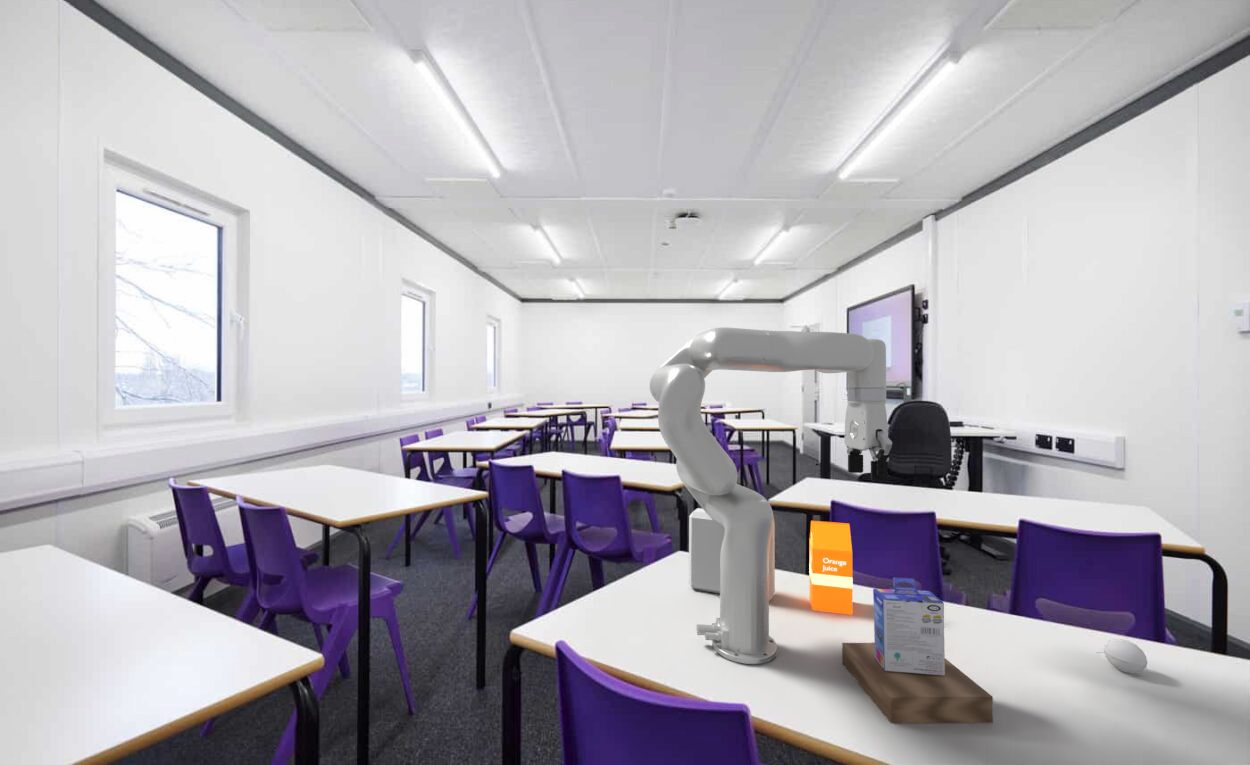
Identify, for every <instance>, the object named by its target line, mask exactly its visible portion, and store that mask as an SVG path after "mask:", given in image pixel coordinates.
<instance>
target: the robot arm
mask: <svg viewBox="0 0 1250 765" xmlns="http://www.w3.org/2000/svg"><path fill="white" fill-rule="evenodd" d="M717 370H722V371H723V370H724V371H725V370H726V371H745V372H746V371H747V372H765V373H790V372H798V371H817V372H819V373H822V374H840V373H846V383H847V384H846V386H847V388H846V390H847V393H846V396H847V398H846V400H847V403H846V404H847V406H846V411H845V421H844V444H845V446H846V449H847V450H846V454H847V471H848V473H850V474H854V473H855V474H857V473H858V474H862V473H864V455H863V454H862V453H863V451H865V452H866V451H868V452H869V453H870V456H871V458H872V460H870V480H871V481H873V482H886V481H888V476H889V474H888V473H889V472H888V471H889V469H888V466H889V465H888V464H889V463H888V462H889V460H890V458H889V457H890V456H891V453H892V452H891V450H892V446H893V441H892V440H891V439H890V438H889V426H888V416H887V415H888V414H887V408H886V404H887V346H886V342H885V341H883V340H882V339H877V338H866V337H865V336H863V335H861V334H857V333H851V332H850V333H848V332H831V331H798V330H797V331H795V330H768V329H767V330H766V329H753V328H752V329H751V328H738V327H716V328H712V329H709V330H706V331H703V332H700V333H698V334H697V335H695V336H693V338H691V339H690V340H689V341H688V342H687V343H685V345H684V346H682V347H681V348H680V349H679V350H678V351H677V352H676V353H674V354H673V355H672V356H671V357H670V358H669V359H667V360H666V361H665V362H663V364H662V365H660V366H659V367H658V368H657V369H656V370H655V371H654V373H653V374H652V376H651V378H650V381H649V391H650V394H651V396H652V397H653V399H654V400H655V401H656V402H657V403H658V410H657V411H658V412H657V413H658V414H657V417H658V418H657V420H658V428H659V431H660V435H661V436H662V439H663V441H664V442H665V444H666V445H667V447H668V448H669V450H670V451H671V453H672V454H673V455H674V457H675V459H676V462H675V468H676V471H677V472H676V473H677V475H678V477H679V479H680V481H681V483H682V484H683V485H684V486H685V488H686V489H687V490H688V492H689V493H690V494H691V496H692V497H693V498H694V499H695V501H696V502H697V503H698V505H699V506H700V507H701V509H703V510H704V511H705V512H706V513H707V514H708V516H709V517H710V518H711V519H712V520H714V521H715V522H716V523H718V524H719V525H721V526H722V527H723V528H725V534H724V539H723V542H722V547H721V554H720V594H719V599H720V600H719V617H716V618H715V619H716V621H715V622H711V624H696V635H697V636H704V640H705V641H711V643H712V648H714V651H715V652H716V653H718V654H719V655H721V656H722V657H724V658H725V659H727V660H730V661H733V662H736V663H739V664H745V665H746V664H747V665H759V664H760V665H761V664H765V663H767V662H770V661H772V660H774V659H775V657H776V656H777V653H778V645H777V642H776V641H775V639H773V638H772V637H771V636H770V618H769V617H770V601H769V548H770V540H771V535H772V529H773V523H774V521H775V519H774V518H775V517H774V511H773V509H772V506H771V504H770V503H769V501H768V499H766V497H764V495H762V494H760V493H759V492H757V491H756V490H753V489H750V488H748V487H746V486H744V485H743V486H742V485H741V484H738V483H737V481H738V471H737V466H736V464H735V463H734V461H733V459H732V458H731V457H730V455H729V454H728V453H727V451H725V450H724V448H723V447H722V446H721V444H720V443H719V442H718V441H717V439H716V437H715V436H714V435H713V434H712V433H711V431H710V429H709V427H708V426H707V424H706V423H705V421H704V419H703V417H702V411H701V410H702V402H703V398H704V395H705V392H706V381H705V378H706V377H707V376H709V375H710V373H712V372H713V371H717Z"/></svg>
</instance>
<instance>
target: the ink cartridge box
mask: <svg viewBox="0 0 1250 765" xmlns="http://www.w3.org/2000/svg"><path fill="white" fill-rule="evenodd" d="M892 582H893V589H892V588H891V589H890V588H885V589H884V588H873V589H872V592H873V594H872V595H873V627H874V631H873V632H874V643H875V658H876V659H877V661H878V662H879V664H880V665H881V667H882V668H883V670H885V671H892V672H906V673H918V674H931V675H942V676H943V675H945V659H946V657H945V655H946V654H945V652H946V651H945V603H944V601H943V600H941V599H940V598H938V597H937V596H936V595H935V594H934V593H933V592H932V591H929V590H919V589H917V584H916V582H915V578H911V577H897V576H895V577H893V576H892ZM900 583H907V584H910V585H911V587H910V586H908V587H907V586H899V585H898V584H900Z"/></svg>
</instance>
